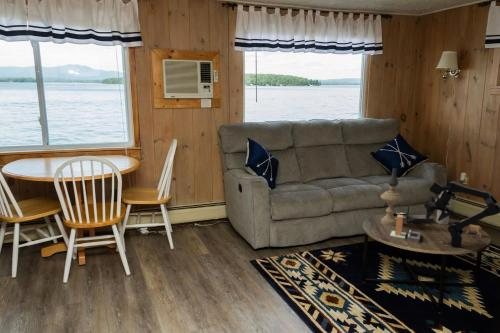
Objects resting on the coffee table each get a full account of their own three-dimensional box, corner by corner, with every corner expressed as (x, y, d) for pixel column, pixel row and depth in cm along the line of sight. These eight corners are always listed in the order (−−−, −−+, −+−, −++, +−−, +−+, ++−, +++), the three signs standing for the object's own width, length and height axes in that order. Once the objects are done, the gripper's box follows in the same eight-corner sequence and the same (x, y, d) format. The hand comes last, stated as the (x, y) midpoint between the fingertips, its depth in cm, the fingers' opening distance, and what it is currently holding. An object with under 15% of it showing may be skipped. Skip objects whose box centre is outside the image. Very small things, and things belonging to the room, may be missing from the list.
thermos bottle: (442, 220, 281) (447, 183, 276) (450, 224, 274) (455, 186, 268) (433, 221, 279) (438, 184, 273) (441, 225, 271) (446, 187, 266)
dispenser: (420, 235, 250) (420, 231, 249) (419, 242, 238) (419, 238, 238) (408, 233, 253) (409, 229, 252) (406, 240, 242) (407, 236, 241)
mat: (406, 233, 252) (406, 233, 252) (404, 238, 244) (404, 237, 243) (391, 231, 256) (391, 230, 256) (390, 236, 247) (390, 235, 247)
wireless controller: (423, 217, 288) (425, 196, 284) (434, 224, 274) (437, 201, 271) (398, 218, 285) (401, 196, 281) (409, 224, 271) (412, 201, 268)
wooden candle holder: (403, 226, 265) (409, 171, 258) (382, 226, 265) (388, 170, 257) (395, 219, 280) (401, 166, 272) (375, 219, 280) (380, 166, 272)
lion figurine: (459, 232, 257) (460, 220, 256) (460, 230, 261) (462, 218, 260) (484, 238, 248) (486, 225, 247) (485, 235, 252) (487, 223, 251)
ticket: (401, 233, 251) (403, 215, 249) (400, 235, 247) (402, 217, 244) (395, 232, 253) (397, 214, 250) (394, 234, 248) (396, 216, 246)
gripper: (449, 195, 246) (437, 214, 252) (425, 190, 241) (413, 210, 247) (459, 204, 236) (447, 224, 243) (435, 199, 231) (423, 220, 238)
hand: (432, 219), depth 243 cm, fingers open, 9 cm apart
